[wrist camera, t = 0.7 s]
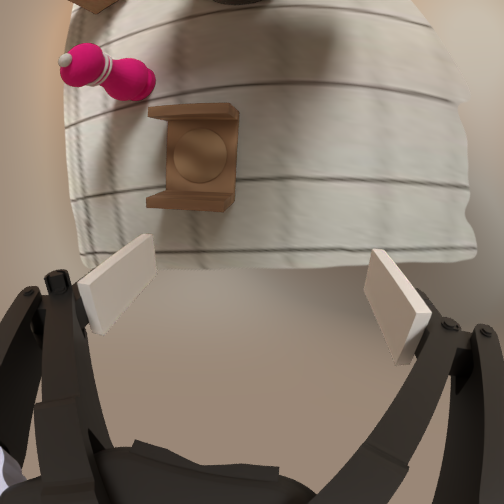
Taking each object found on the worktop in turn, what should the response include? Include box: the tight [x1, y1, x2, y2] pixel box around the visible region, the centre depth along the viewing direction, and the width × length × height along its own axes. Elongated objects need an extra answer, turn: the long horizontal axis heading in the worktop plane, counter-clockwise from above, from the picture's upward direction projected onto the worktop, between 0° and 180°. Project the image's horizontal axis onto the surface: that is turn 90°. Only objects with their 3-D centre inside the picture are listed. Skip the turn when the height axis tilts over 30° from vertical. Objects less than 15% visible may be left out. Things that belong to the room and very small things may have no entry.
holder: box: [146, 103, 239, 212], centre depth 36 cm, size 14×11×8 cm
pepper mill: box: [58, 43, 156, 101], centre depth 27 cm, size 7×7×20 cm
